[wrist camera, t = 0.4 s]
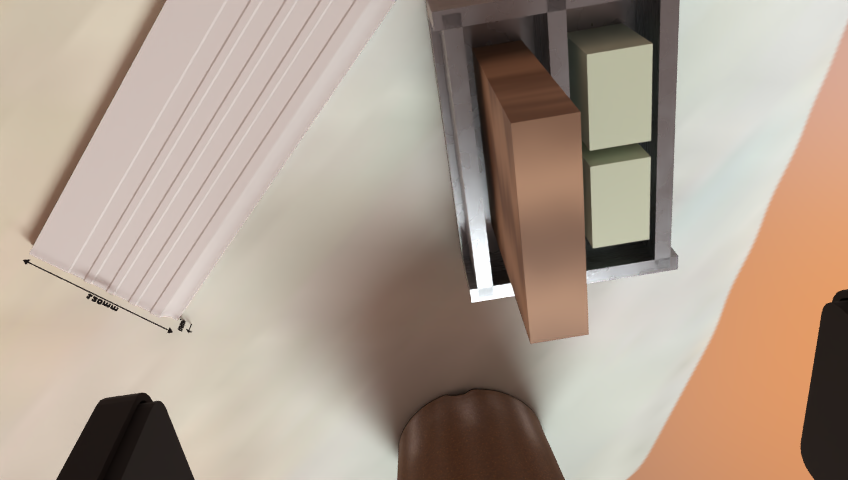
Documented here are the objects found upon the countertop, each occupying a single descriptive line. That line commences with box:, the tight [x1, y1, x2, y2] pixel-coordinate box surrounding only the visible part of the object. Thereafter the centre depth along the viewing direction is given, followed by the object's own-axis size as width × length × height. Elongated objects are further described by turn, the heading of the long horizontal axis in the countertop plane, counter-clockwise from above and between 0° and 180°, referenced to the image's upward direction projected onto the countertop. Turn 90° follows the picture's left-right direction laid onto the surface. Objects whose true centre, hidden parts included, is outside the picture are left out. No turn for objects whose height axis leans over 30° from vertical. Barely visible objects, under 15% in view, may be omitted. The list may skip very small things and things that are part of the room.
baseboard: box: [23, 0, 396, 333], centre depth 42 cm, size 31×3×12 cm
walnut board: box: [472, 40, 589, 344], centre depth 38 cm, size 12×3×13 cm, turn 8°
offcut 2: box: [582, 141, 651, 248], centre depth 43 cm, size 6×4×5 cm, turn 8°
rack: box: [426, 0, 679, 302], centre depth 42 cm, size 18×14×5 cm
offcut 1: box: [567, 23, 653, 151], centre depth 40 cm, size 6×4×5 cm, turn 8°
